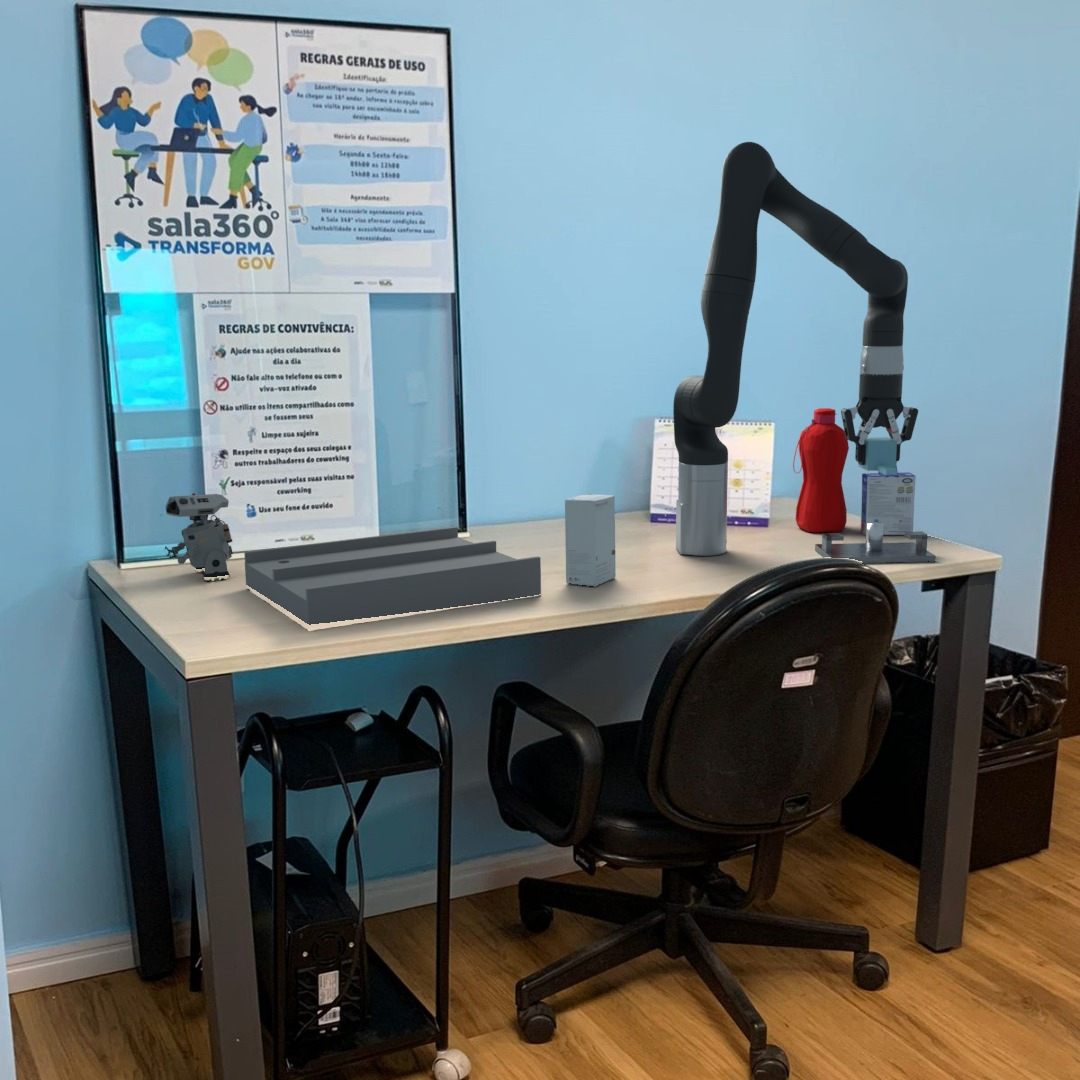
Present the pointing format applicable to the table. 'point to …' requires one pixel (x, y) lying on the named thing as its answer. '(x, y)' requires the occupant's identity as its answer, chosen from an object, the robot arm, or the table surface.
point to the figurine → (202, 533)
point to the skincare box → (590, 539)
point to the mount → (877, 547)
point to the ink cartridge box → (888, 501)
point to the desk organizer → (388, 575)
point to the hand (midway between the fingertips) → (877, 463)
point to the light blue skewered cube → (881, 455)
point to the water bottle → (822, 474)
